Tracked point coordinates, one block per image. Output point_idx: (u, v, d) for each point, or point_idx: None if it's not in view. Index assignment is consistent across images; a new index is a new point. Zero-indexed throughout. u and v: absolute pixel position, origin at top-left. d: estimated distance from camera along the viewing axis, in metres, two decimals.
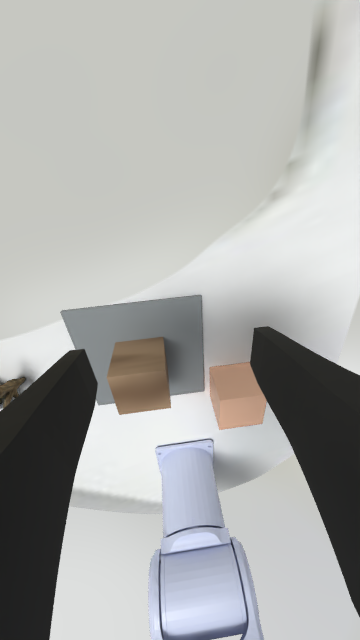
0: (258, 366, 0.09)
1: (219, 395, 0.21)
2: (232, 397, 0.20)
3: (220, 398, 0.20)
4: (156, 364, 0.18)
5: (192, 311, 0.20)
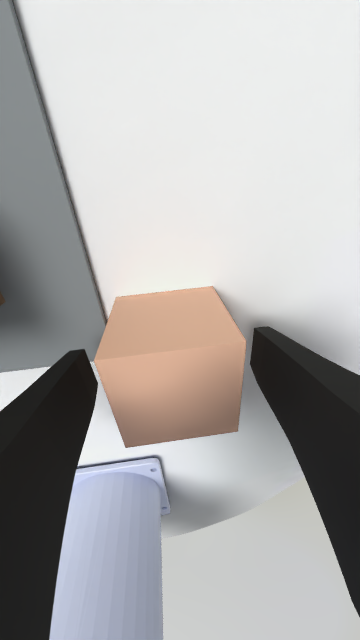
0: (258, 366, 0.09)
1: (101, 348, 0.07)
2: (134, 352, 0.07)
3: (99, 355, 0.07)
4: None
5: None
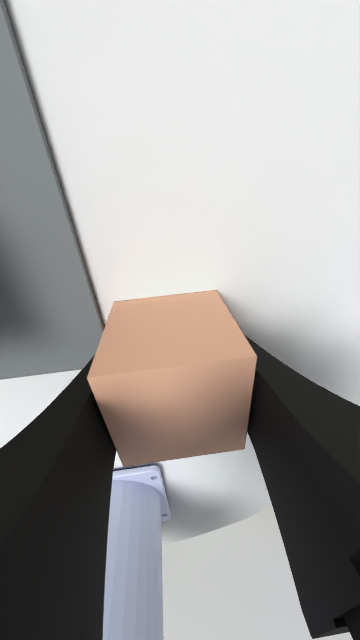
0: None
1: (95, 362, 0.06)
2: (132, 368, 0.06)
3: (93, 371, 0.06)
4: None
5: None
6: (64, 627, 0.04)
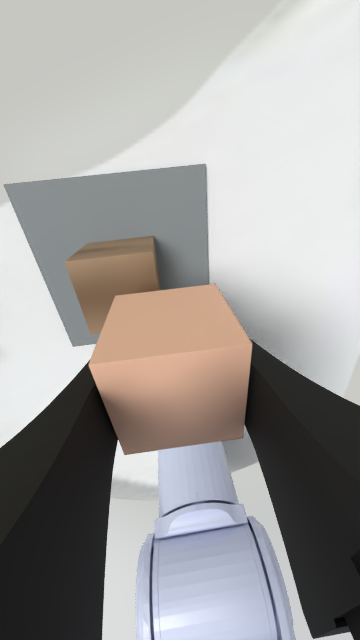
0: None
1: (97, 351, 0.06)
2: (131, 355, 0.06)
3: (94, 359, 0.06)
4: (140, 249, 0.12)
5: (193, 192, 0.14)
6: (63, 627, 0.04)
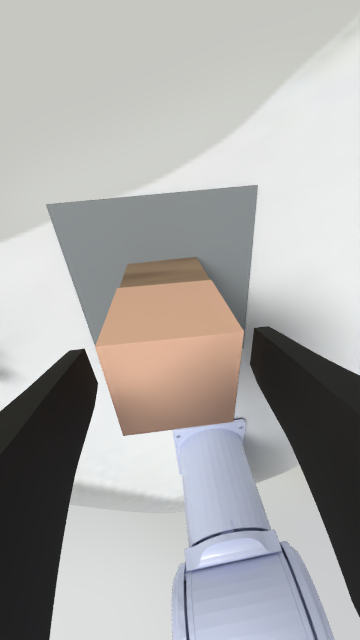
0: (258, 366, 0.09)
1: (102, 335, 0.07)
2: (134, 340, 0.07)
3: (100, 342, 0.07)
4: (195, 277, 0.11)
5: (242, 213, 0.13)
6: None
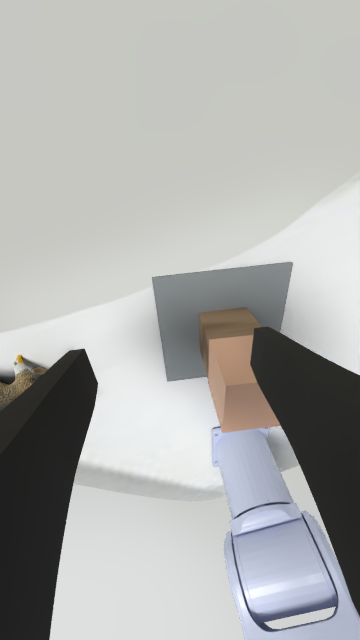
0: (258, 366, 0.09)
1: (224, 378, 0.13)
2: (245, 382, 0.13)
3: (226, 382, 0.13)
4: None
5: (280, 279, 0.19)
6: None
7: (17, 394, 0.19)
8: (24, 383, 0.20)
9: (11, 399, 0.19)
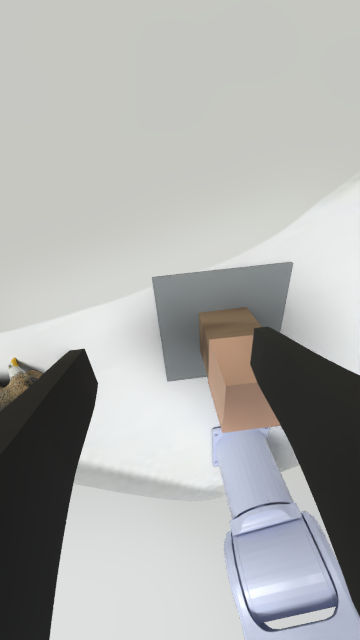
0: (258, 366, 0.09)
1: (224, 378, 0.13)
2: (245, 382, 0.13)
3: (226, 382, 0.13)
4: None
5: (281, 279, 0.19)
6: None
7: (11, 397, 0.19)
8: (18, 385, 0.20)
9: (5, 402, 0.19)
